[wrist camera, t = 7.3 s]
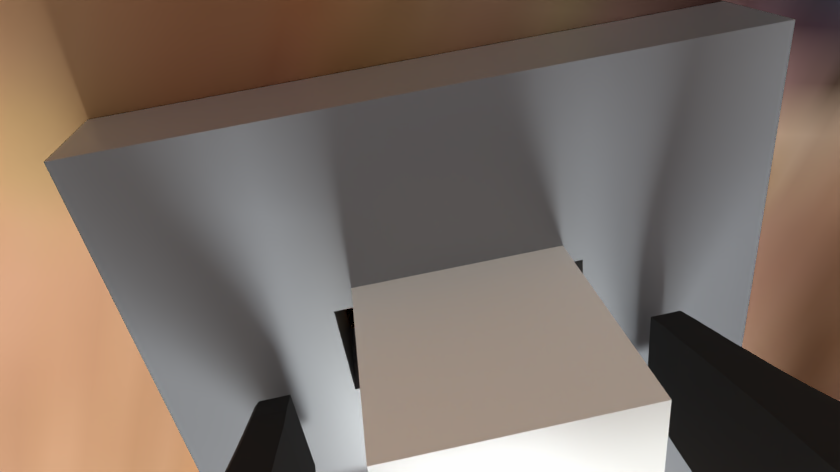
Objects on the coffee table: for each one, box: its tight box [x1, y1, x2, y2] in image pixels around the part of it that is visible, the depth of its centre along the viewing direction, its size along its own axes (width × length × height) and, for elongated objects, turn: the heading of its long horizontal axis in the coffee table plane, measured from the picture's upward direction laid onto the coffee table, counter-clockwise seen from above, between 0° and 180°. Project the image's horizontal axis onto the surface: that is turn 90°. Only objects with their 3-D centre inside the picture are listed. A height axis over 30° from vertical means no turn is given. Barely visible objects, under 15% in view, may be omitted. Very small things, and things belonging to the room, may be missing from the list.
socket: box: [44, 1, 795, 472], centre depth 13 cm, size 12×12×3 cm
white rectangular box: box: [351, 246, 672, 472], centre depth 11 cm, size 4×5×6 cm
